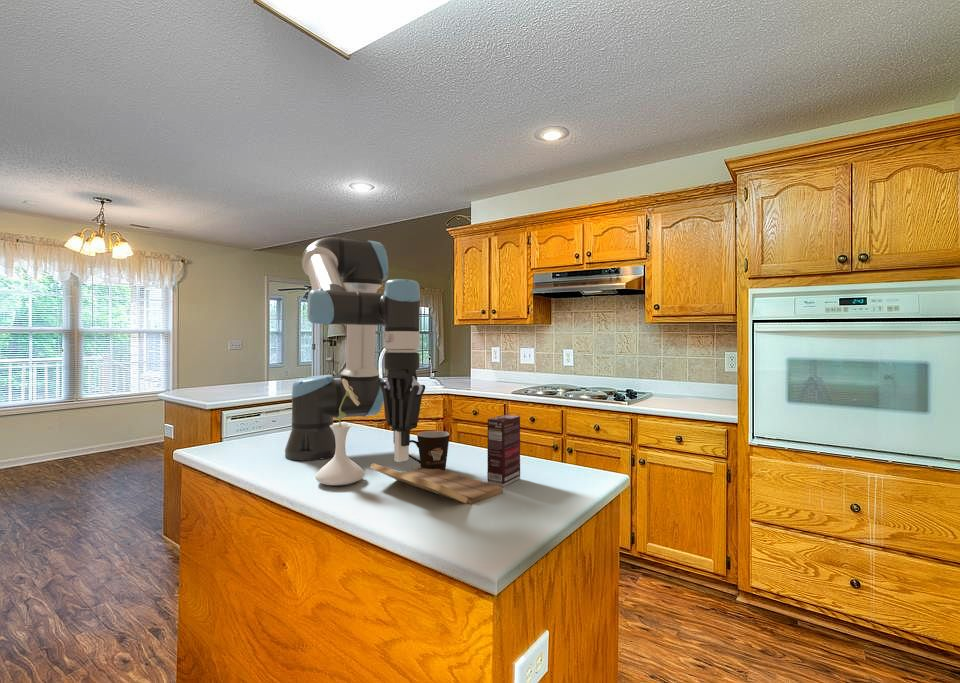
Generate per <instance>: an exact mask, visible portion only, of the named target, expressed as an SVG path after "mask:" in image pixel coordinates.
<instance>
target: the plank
mask: <svg viewBox="0 0 960 683" xmlns="http://www.w3.org/2000/svg"><path fill="white" fill-rule="evenodd" d="M369 468H370V469H372V470H374V471H376V472H379V473H381V474H383V475H386V476H387V477H389V478H391V479H394V480H396V481H399V482H402V483H404V484H408V485H411V486H414V487H417V488H420V489H422V490H425V491H428V492H432V493H434V494H437V495H441V496H443V497H446V498H449V499H451V500H455V501H458V502H461V503H463V504H468V503H467V500H468V498H467V497H465V496H463V495H461V494H459V493H457V492H456V491H453V490H451V489H449V488H446V487H444V486H442V485H440V484H437V483H433V482H430V481H427V480H424V479H421V478H418V477H415V476H412V475H408V474H405V473H402V472H403V471H399V470H395V469H393V468H389V467H386V466H383V465H380V464H378V463H373V462H371V465H370V467H369Z"/></svg>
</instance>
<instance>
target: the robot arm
mask: <svg viewBox="0 0 960 683" xmlns="http://www.w3.org/2000/svg"><path fill="white" fill-rule="evenodd" d="M387 254H388V253H387V251H386V248H385V246H384V244H382V242H379V241H374V240H370V239H357V238H356V239H355V238H347V237H346V238H344V237H337V236H335V237H334V236H330V237H329V236H328V237H327V236H326V237H323V238H320V239H317V240H315V241H314V242H312V243H310V244H309V245H308V246H307V247H306V248H305V249H304V251H303V253H302V255H301V266H302V270H303V272H304V273H305V275H306V276H308V277H309V281H310V286H311V289H312V290H310V291H309V292H308V294H307V304H306V306H307V307H306V308H307V312H306V313H307V319H308V322H310V323H311V324H317V325H318V324H319V325H324V326H326V325H327V326H328V325H343V326H344V325H346V347H345V348H346V352H345V353H346V356H345V362H346V363H345V368H344V369H343V370H342V371H341V372H340V378H339V379H335V377H334V375H332V374H324V375H322V374H321V375H313V376H308V377H307V376H306V377H302V378H298V379H297V380H295V381H294V382H293V384H292V390H291V395H290V397H291V399H292V400H291V431H290V433H289V437H288V440H287V443H286V446H285V449H284V453H285V454H284V457H285V458H286V459H288V460H292V461H317V460H323V459H324V460H325V459H328V458H333V457H334V455H335V451H336V442H335V436H334V432H333V430H332V429H331V428H330V425H333V424H334V419H336V418H337V417H339V408H340V405H341V403H342V400H343V398H344V396H345V395H346V392H347V391H346V389H345V388H344V386H343V383H342V379H343V378H344V379H345V380H347V381H348V384H349V388H350V387H352V388H353V392H354V394H355V395H356V396H357V397H358V399H357V400H358V401H359V403H360V404H359V406H357V405H356V404H355V403H354V402H353V401H352V399H351V398H350V396H346V398H345V400H344V402H343V404H342V406H341V411H342V412H344V413H345V414H347V415H346V416H345V417H344V418H352V417H354V418H357V417H363V418H364V417H369V416H376V415H378V414H379V413H380V412H381V410H382V408H383V406H384V414H385V420H386V425H387V426H388V427H391V429H392V430H393V444H394V446H393V448H394V450H393V451H394V453H393V455H394V458H393V460H394V462H396V463H400V462H405V461H409V458H410V457H409V455H410V452H409V447H410V443H411V442H410V440H411V430H413V429H417V427H418V421H419V417H420V410H421V406H422V405H421V404H422V398H423V395H424V393H425V390H426V386H425V384H420V382H418V376H417V375H418V374H417V372H416V371H417V370H419V369H420V358H421V357H420V356H421V355H420V354H419V352H418V351H419V350H420V349H421V344H420V343H421V341H420V340H421V336H420V335H421V334H420V333H421V332H420V328H421V326H420V322H421V320H420V319H421V317H420V316H421V313H420V312H421V311H420V310H421V298H422V297H421V293H420V292H421V291H420V290H421V289H420V283H419V282H418V281H416V280H413V279H407V278H406V279H405V278H404V279H403V278H401V279H400V278H398V279H397V278H395V279H388V276H389V261H388V255H387ZM387 279H388V280H387ZM386 280H387V281H386ZM383 281H385V283H384V291H383V292H380V293H379V292H377V291H378V290H380V288H381V287H382V284H383ZM376 326H382V327H384V349H385V350H386V351H387V352H385V353H384V361H383V362H384V365H383V366H384V369H385V370H386V371H388V372H387V376H386V378H387V379H386V380H385V381H384V379H383V378H381V377H380V372H379V371H378V370H377V369H376V368H375V367H376V366H375V365H376V364H375V362H376V360H375V359H376V329H377V328H376ZM340 415H341V414H340Z"/></svg>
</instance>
